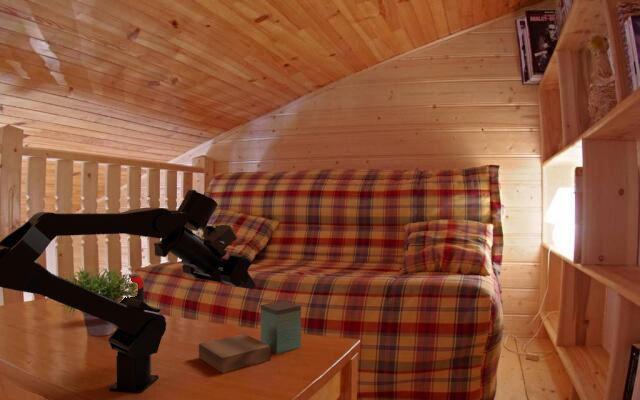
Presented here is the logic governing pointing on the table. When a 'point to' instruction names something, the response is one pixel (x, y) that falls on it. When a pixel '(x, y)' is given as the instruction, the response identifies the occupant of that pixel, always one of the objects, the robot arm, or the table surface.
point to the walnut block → (234, 352)
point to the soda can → (140, 294)
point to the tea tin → (281, 326)
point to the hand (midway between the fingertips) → (241, 284)
